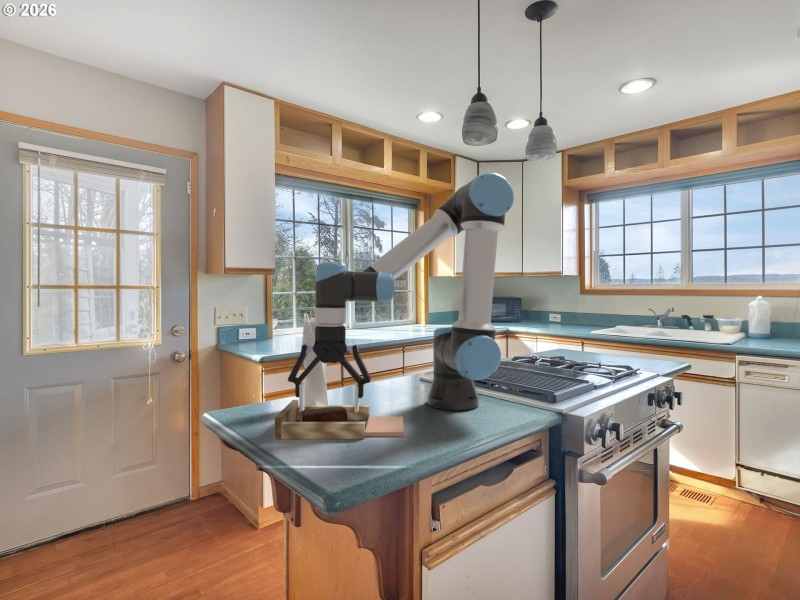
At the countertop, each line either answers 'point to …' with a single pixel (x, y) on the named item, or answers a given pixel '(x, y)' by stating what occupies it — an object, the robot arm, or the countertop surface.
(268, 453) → the countertop surface
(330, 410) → the brick
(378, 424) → the tile
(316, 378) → the skyscraper
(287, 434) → the channel
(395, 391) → the countertop surface
